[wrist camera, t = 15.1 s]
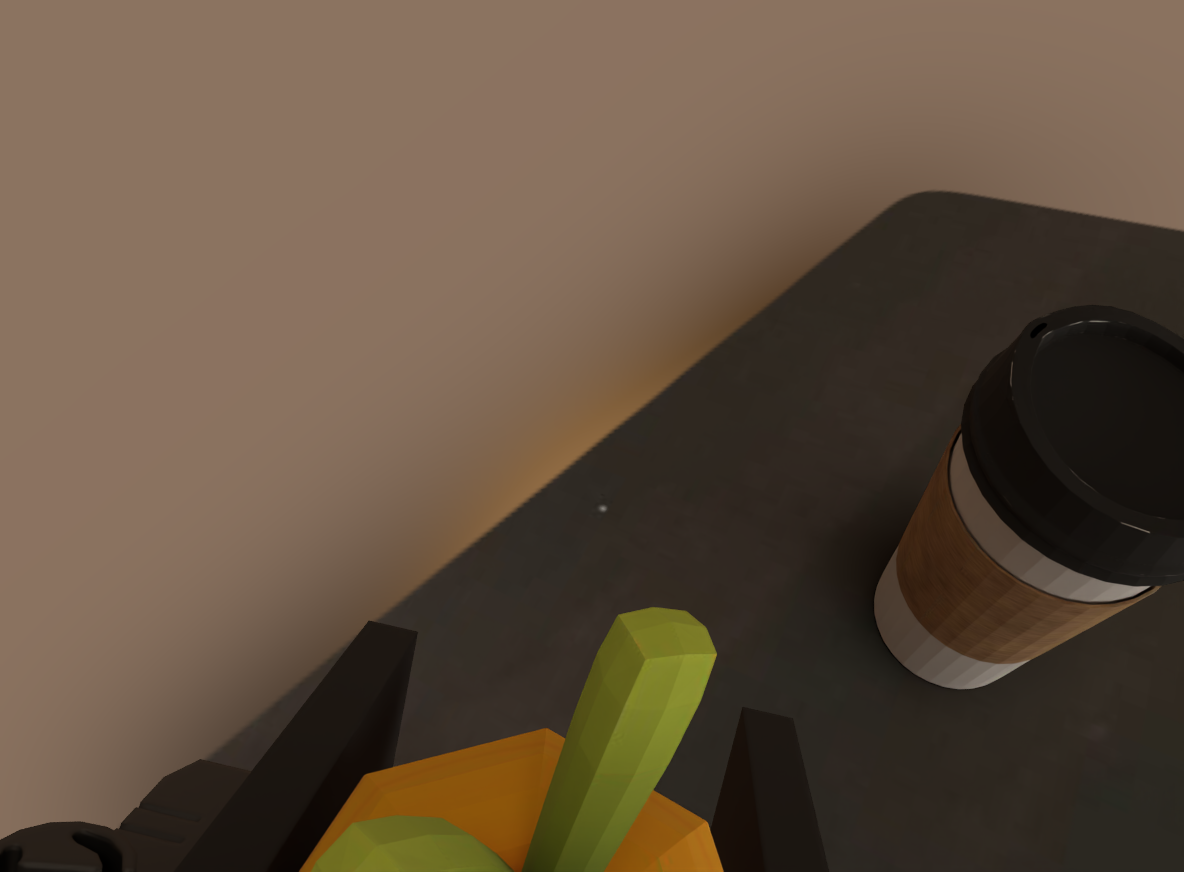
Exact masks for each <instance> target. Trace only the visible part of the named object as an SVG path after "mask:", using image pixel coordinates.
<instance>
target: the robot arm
mask: <svg viewBox="0 0 1184 872" xmlns="http://www.w3.org/2000/svg"><path fill="white" fill-rule="evenodd" d="M417 634H418V632H416V631H412V630H407V629H403V628H399V627H394V626H390V625H386V624H381V623H377V622H373V621H368V622H367V624H366V625H365V626H364V628H363V629H362V630H361V631H360V633H359V634H358V635H357V637H356V638H355V639H354V640H353V642H352V643H351V644H350V646H349V647H348V648H347V649H346V651H345V652H344V653H343V655H342V656H341V657H340V658H339V660H338V661H337V662H336V664H335V665H334V666H333V667H332V669H331V670H330V671H329V673H328V674H327V675H326V676H325V678H324V679H323V680H322V682H321V683H320V684H319V685H318V687H317V688H316V689H315V691H314V692H313V693H312V694H311V696H310V697H309V698H308V700H307V701H306V702H305V703H304V705H303V706H302V707H301V709H300V710H299V711H298V712H297V714H296V715H295V716H294V718H293V719H292V720H291V721H290V723H289V724H288V725H287V727H286V728H285V729H284V730H283V732H282V733H281V734H280V736H279V737H278V738H277V739H276V741H275V742H274V743H273V745H272V746H271V747H270V748H269V750H268V751H267V752H266V754H265V755H264V756H263V757H262V759H261V760H260V761H259V763H258V764H257V765H256V766H255V768H254V769H253V770H252V771H248V770H243V769H239V768H235V767H231V766H226V765H222V764H218V763H214V762H210V761H205V760H201V759H200V760H198V761H196V762H194V763H192V764H190V765H188V766H186V767H184V768H182V769H180V770H178V771H176V772H173V773H171V774H169V775H167V776H165V777H164V778H163V779H162V780H161V781H160V782H159V783H158V784H157V785H156V786H155V787H154V788H153V789H152V791H151V792H150V793H149V794H148V795H147V796H146V797H145V798H144V799H143V800H142V801H141V803H140V806H139V808H135V809H134V810H133V811H132V812H131V813H130V814H129V815H128V816H127V817H126V818H125V820H124V821H123V822H122V823H121V826H120V828H119V829H117V828H116V829H115V830H112V829H110V828H108V827H105V826H100V825H95V824H90V823H85V822H50V823H46V824H42V825H38V826H34V827H30V828H25V829H21V830H19V831H17V832H15V833H13V834H11V835H9V836H7V837H5V838H3V839H1V840H0V872H299V871H300V869H301V868H302V866H303V865H304V863H305V862H306V860H307V859H308V857H309V856H310V854H311V853H312V851H313V850H314V848H315V847H316V845H317V844H318V842H319V841H320V839H321V838H322V837H323V835H324V834H325V832H326V831H327V829H328V828H329V826H330V825H331V823H332V822H333V820H334V819H335V817H336V816H337V814H338V813H339V811H340V810H341V808H342V807H343V805H344V804H345V802H346V801H347V800H348V798H349V797H350V795H351V794H352V792H353V791H354V789H355V788H356V786H357V785H358V783H359V782H360V780H361V779H362V777H363V776H364V775H366V774H369V773H373V772H377V771H381V770H384V769H388V768H392V767H393V762H394V757H395V752H396V746H397V741H398V736H399V730H400V725H401V720H402V714H403V709H404V704H405V698H406V693H407V687H408V682H409V677H410V671H411V666H412V661H413V655H414V650H415V645H416V639H417ZM710 831H711V834H712V837H713V840H714V844H715V847H716V850H717V853H718V856H719V859H720V862H721V865H722V868H723V871H724V872H829V869H828V865H827V861H826V856H825V852H824V848H823V844H822V840H821V835H820V831H819V827H818V823H817V818H816V814H815V810H814V806H813V802H812V797H811V793H810V789H809V785H808V780H807V776H806V772H805V768H804V764H803V759H802V755H801V751H800V747H799V742H798V738H797V734H796V730H795V726H794V721H793V718H788V717H784V716H780V715H775V714H771V713H767V712H762V711H758V710H754V709H749V708H745V707H743V708H742V711H741V715H740V719H739V723H738V727H737V731H736V734H735V738H734V742H733V746H732V750H731V753H730V757H729V761H728V765H727V769H726V773H725V776H724V780H723V784H722V788H721V792H720V796H719V799H718V803H717V807H716V811H715V815H714V818H713V822H712V826H711V830H710Z"/></svg>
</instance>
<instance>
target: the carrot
mask: <svg viewBox="0 0 1184 872" xmlns="http://www.w3.org/2000/svg"><path fill="white" fill-rule="evenodd" d="M716 655H717V653H716V651H715V648H714V646H713V643H712V641H711V638H710V636H709V634H708V631H707V629H706V627H705V626H704V625H702V624H701V623H700V622H699V621H697V620H696V619H695V618H694V617H693V616H691V615H690V614H689V613H688V612H687V611H682V610H673V609H664V608H656V607H651V608H647V609H642V610H638V611H633V612H629V613H624V614H620V615H618V616H617V618H616V620H615V621H614V623H613V625H612V627H611V629H610V631H609V632H608V634H607V636H606V638H605V640H604V641H603V643H602V645H601V647H600V649H599V651H598V652H597V655H596V658H595V660H594V663H593V665H592V668H591V670H590V673H589V676H588V678H587V681H586V683H585V686H584V689H583V691H582V694H581V696H580V699H579V701H578V704H577V707H576V709H575V712H574V715H573V718H572V721H571V724H570V727H569V730H568V733H567V736H566V739H565V738H563V737H561V736H560V735H558V734H556V733H554V732H553V731H551V730H549V729H548V728H544V729H541V730H537V731H533V732H529V733H525V734H521V735H517V736H513V737H509V738H505V739H502V740H498V741H494V742H490V743H486V744H482V745H478V746H474V747H470V748H466V749H463V750H459V751H455V752H451V753H447V754H443V755H439V756H435V757H431V758H427V759H424V760H420V761H416V762H412V763H408V764H404V765H400V766H396V767H392V768H388V769H384V770H381V771H377V772H373V773H369V774H366V775H364V776H363V777H362V779H361V780H360V782H359V783H358V785H357V786H356V788H355V789H354V791H353V792H352V794H351V795H350V797H349V798H348V800H347V801H346V802H345V804H344V805H343V807H342V808H341V810H340V811H339V813H338V814H337V816H336V817H335V819H334V820H333V822H332V823H331V825H330V826H329V828H328V829H327V831H326V832H325V834H324V835H323V837H322V838H321V839H320V841H319V842H318V844H317V845H316V847H315V848H314V850H313V851H312V853H311V854H310V856H309V857H308V859H307V860H306V862H305V863H304V865H303V866H302V868H301V869H300V871H299V872H724V871H723V868H722V865H721V862H720V859H719V856H718V853H717V850H716V847H715V844H714V840H713V837H712V834H711V831H710V828H709V825H708V823H707V821H705V820H703V819H702V818H700V817H698V816H696V815H695V814H693V813H691V812H690V811H688V810H686V809H684V808H683V807H681V806H679V805H678V804H676V803H674V802H672V801H671V800H669V799H667V798H666V797H664V796H662V795H661V794H659V793H657V792H655V791H654V790H653V789H654V788H655V786H656V784H657V783H658V781H659V779H660V778H661V776H662V774H663V773H664V771H665V769H666V768H667V766H668V764H669V762H670V760H671V758H672V756H673V754H674V753H675V751H676V749H677V747H678V745H679V743H680V741H681V739H682V737H683V735H684V733H685V731H686V729H687V727H688V725H689V723H690V721H691V719H692V717H693V715H694V713H695V711H696V709H697V707H698V705H699V703H700V701H701V698H702V695H703V693H704V690H705V687H706V684H707V681H708V678H709V675H710V673H711V670H712V667H713V664H714V661H715V658H716Z"/></svg>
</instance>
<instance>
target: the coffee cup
mask: <svg viewBox="0 0 1184 872" xmlns="http://www.w3.org/2000/svg"><path fill="white" fill-rule="evenodd" d="M1183 580H1184V339H1183V338H1181V337H1180V336H1179V335H1177V334H1175V333H1173V332H1172V331H1170V330H1168V329H1166V328H1165V327H1163V326H1161V325H1160V324H1158V323H1156V322H1154V321H1152V320H1149V319H1147V318H1145V317H1142V316H1140V315H1138V314H1136V313H1133V312H1130V311H1126V310H1122V309H1119V308H1115V307H1111V306H1099V305H1086V306H1075V307H1071V308H1066V309H1062V310H1059V311H1056V312H1053V313H1050V314H1047V315H1044V316H1042V317H1039V318H1037V319H1035V320H1033V321H1031V322H1030V323H1029V324H1028V325H1027V326H1026V327H1025V328H1024V330H1023V331H1022V333H1021V334H1020V335H1019V336H1018V338H1017V339H1016V340H1015V341H1014V342H1013V343H1012V344H1011V345H1010V346H1009V347H1008V348H1006V349H1005V350H1004V351H1002V352H1001V353H999V354H998V355H996V356H995V357H994V358H993V359H992V360H991V361H990V362H989V364H988V365H987V366H986V367H985V369H984V370H983V371H982V372H981V374H980V376H979V378H978V380H977V381H976V383H975V384H974V385H973V386H972V389H971V391H970V393H969V395H968V398H967V400H966V402H965V404H964V410H963V416H962V422H961V425H960V426H959V427H958V428H957V430H956V431H955V432H954V434H953V436H952V438H951V440H950V442H949V444H948V446H947V448H946V450H945V452H944V454H943V456H942V458H941V460H940V462H939V464H938V466H937V468H936V470H935V472H934V474H933V476H932V478H931V480H930V482H929V484H928V486H927V488H926V490H925V492H924V494H923V496H922V498H921V500H920V502H919V504H918V506H917V508H916V510H915V512H914V514H913V516H912V518H911V520H910V522H909V524H908V526H907V528H906V530H905V532H904V534H903V536H902V539H901V541H900V543H899V545H898V547H897V549H896V550H895V552H894V554H893V556H892V557H891V559H890V561H889V563H888V565H887V566H886V568H885V570H884V572H883V574H882V576H881V578H880V581H879V583H878V585H877V587H876V592H875V597H874V614H875V618H876V623H877V627H878V629H879V631H880V634H881V636H882V638H883V641H884V642H885V644H886V645H887V647H888V648H889V650H890V651H891V653H892V654H893V655H894V656H895V657H896V658H897V659H898V660H899V661H900V663H901V664H902V665H904V666H905V667H906V668H907V669H909V670H910V671H911V672H913V673H914V674H915V675H917V676H919V677H921V678H923V679H925V680H926V681H928V682H931V683H934V684H937V685H940V686H943V687H948V688H954V689H973V688H977V687H981V686H985V685H987V684H989V683H991V682H993V681H995V680H997V679H999V678H1001V677H1003V676H1004V675H1006V674H1008V673H1009V672H1011V671H1013V670H1014V669H1016V668H1018V667H1019V666H1021V665H1022V664H1024V663H1026V662H1027V661H1029V660H1031V659H1033V658H1035V657H1037V656H1039V655H1041V654H1043V653H1045V652H1047V651H1048V650H1050V649H1052V648H1054V647H1056V646H1057V645H1059V644H1061V643H1063V642H1065V641H1067V640H1068V639H1070V638H1072V637H1074V636H1076V635H1077V634H1079V633H1081V632H1083V631H1085V630H1087V629H1088V628H1090V627H1092V626H1094V625H1096V624H1098V623H1099V622H1101V621H1103V620H1105V619H1107V618H1108V617H1110V616H1112V615H1114V614H1116V613H1118V612H1119V611H1121V610H1123V609H1125V608H1127V607H1129V606H1130V605H1132V604H1134V603H1136V602H1138V601H1139V600H1141V599H1143V598H1145V597H1147V596H1149V595H1150V594H1152V593H1154V592H1155V591H1157V590H1158V589H1159V588H1160V587H1161V586H1163V585H1167V584H1171V583H1175V582H1179V581H1183Z"/></svg>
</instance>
